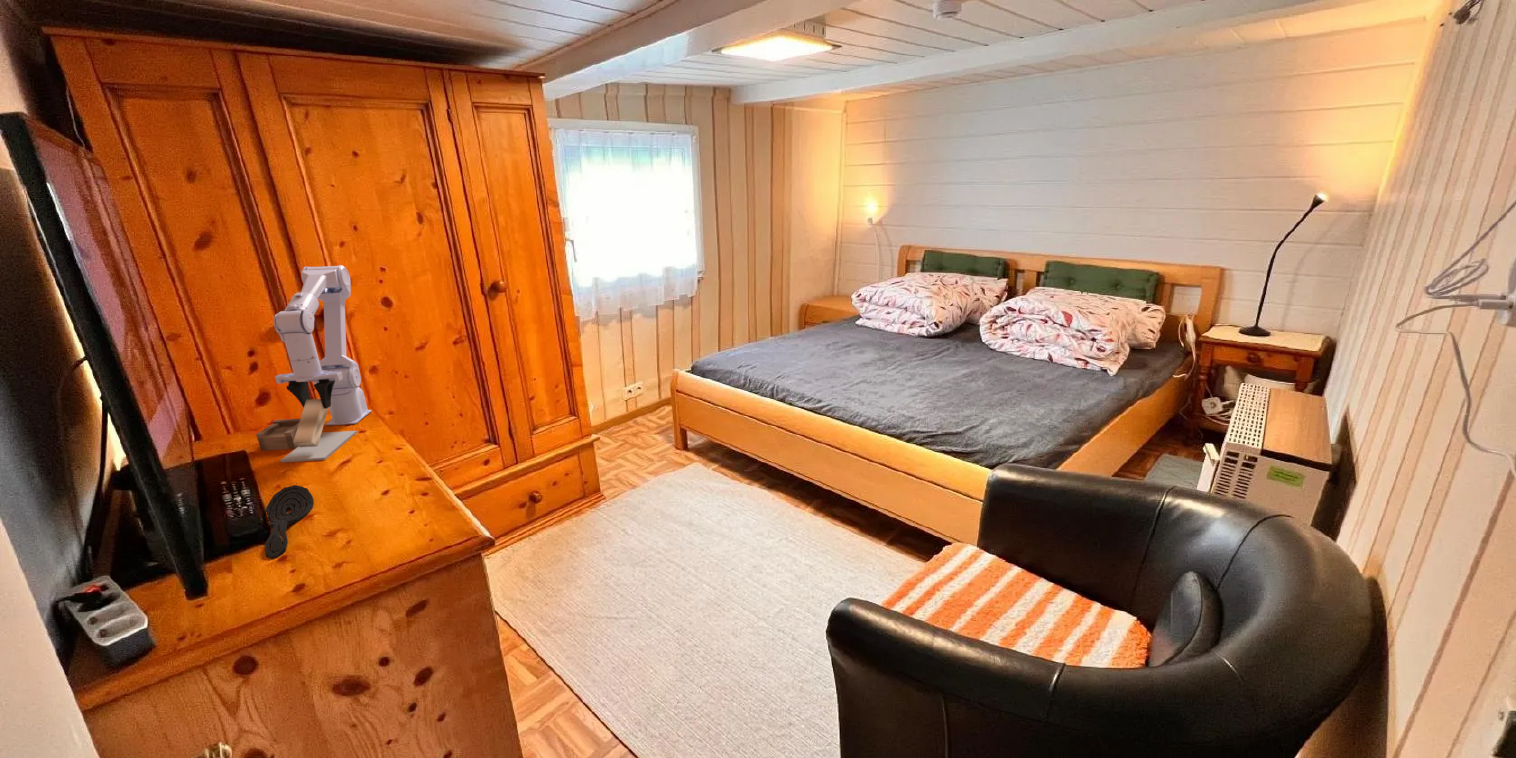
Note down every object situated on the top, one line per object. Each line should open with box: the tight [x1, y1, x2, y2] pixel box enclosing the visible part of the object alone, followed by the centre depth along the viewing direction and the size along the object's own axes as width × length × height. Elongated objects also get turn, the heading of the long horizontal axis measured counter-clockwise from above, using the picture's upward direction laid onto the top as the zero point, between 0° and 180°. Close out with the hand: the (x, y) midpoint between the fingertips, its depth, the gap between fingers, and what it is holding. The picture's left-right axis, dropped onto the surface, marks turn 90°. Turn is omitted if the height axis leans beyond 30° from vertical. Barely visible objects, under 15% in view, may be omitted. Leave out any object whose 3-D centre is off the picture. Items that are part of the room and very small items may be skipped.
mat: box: [280, 430, 358, 464], centre depth 152 cm, size 16×10×1 cm, turn 8°
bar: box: [293, 398, 329, 447], centre depth 149 cm, size 12×4×3 cm
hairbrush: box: [263, 482, 315, 560], centre depth 118 cm, size 8×4×25 cm
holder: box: [255, 418, 301, 452], centre depth 153 cm, size 8×8×5 cm
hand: (317, 407), depth 151 cm, fingers closed on bar, 4 cm apart
